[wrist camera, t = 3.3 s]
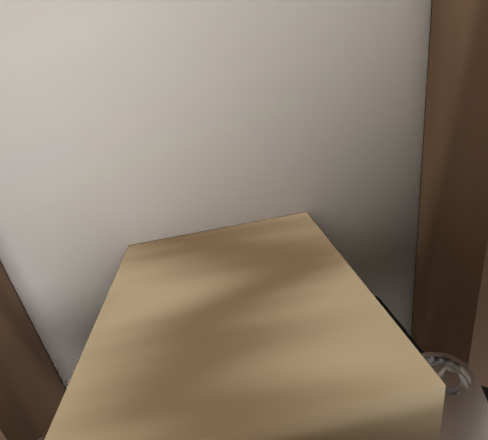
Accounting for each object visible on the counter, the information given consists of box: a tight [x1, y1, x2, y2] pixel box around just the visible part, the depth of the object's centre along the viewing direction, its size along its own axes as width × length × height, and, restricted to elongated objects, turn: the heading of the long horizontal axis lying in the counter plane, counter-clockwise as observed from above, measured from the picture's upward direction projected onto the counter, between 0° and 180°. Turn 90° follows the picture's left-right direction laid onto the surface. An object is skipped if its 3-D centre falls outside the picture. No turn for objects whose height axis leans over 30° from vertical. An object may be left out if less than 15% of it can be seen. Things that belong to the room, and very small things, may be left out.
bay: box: [0, 0, 488, 440], centre depth 9 cm, size 16×21×3 cm
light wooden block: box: [44, 212, 446, 440], centre depth 9 cm, size 6×6×7 cm
